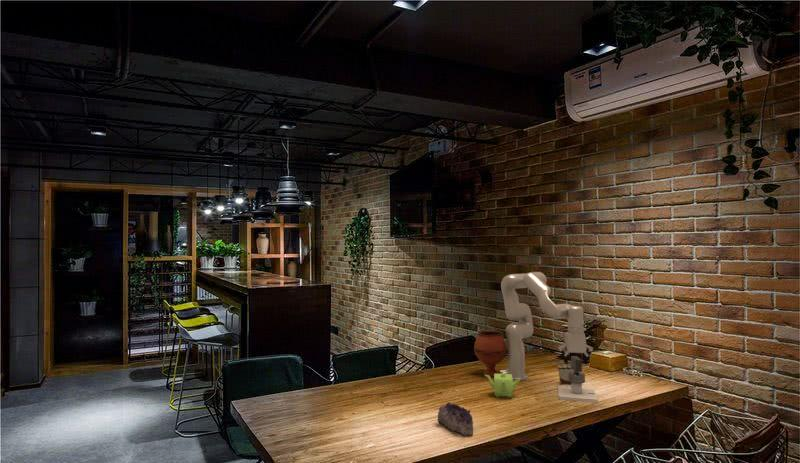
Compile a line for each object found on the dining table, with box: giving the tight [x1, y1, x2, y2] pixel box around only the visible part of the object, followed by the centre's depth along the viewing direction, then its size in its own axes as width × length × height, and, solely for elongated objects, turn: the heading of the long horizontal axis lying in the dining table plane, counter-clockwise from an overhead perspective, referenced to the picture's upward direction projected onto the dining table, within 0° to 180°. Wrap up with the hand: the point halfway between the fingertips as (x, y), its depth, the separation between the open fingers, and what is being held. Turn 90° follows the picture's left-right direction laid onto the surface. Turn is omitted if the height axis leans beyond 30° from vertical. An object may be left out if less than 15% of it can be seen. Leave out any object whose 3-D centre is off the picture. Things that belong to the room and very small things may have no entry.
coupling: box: [568, 355, 586, 384], centre depth 237 cm, size 9×8×12 cm
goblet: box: [473, 330, 508, 377], centre depth 275 cm, size 19×19×25 cm
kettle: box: [484, 373, 521, 399], centre depth 236 cm, size 15×14×11 cm
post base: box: [557, 383, 599, 404], centre depth 235 cm, size 18×18×7 cm
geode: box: [437, 402, 474, 437], centre depth 195 cm, size 20×12×10 cm, turn 28°
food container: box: [556, 363, 574, 386], centre depth 256 cm, size 12×6×10 cm, turn 84°
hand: (575, 363), depth 236 cm, fingers open, 9 cm apart
